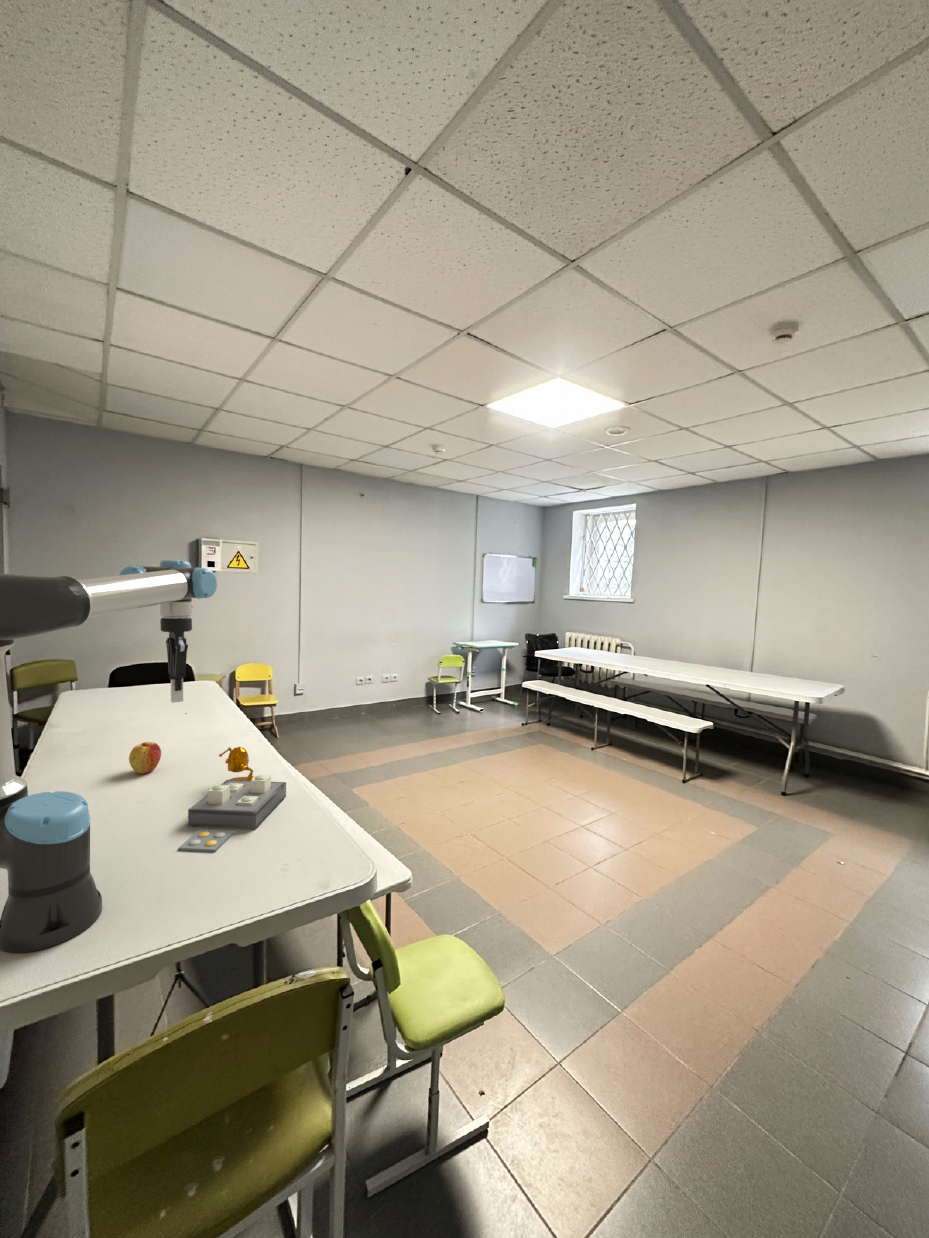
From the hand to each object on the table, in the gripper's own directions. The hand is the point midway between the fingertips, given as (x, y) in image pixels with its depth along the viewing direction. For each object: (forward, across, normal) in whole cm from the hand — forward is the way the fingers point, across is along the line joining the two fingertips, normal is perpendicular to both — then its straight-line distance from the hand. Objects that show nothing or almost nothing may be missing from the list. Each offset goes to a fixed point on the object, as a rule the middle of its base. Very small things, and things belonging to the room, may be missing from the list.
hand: (177, 701), depth 139 cm
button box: (+30, -13, -13) cm, 35 cm away
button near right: (+29, -18, -13) cm, 37 cm away
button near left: (+27, -13, -7) cm, 30 cm away
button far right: (+27, -13, -18) cm, 35 cm away
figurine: (+31, +6, -19) cm, 37 cm away
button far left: (+29, -7, -13) cm, 33 cm away
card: (+30, -25, -1) cm, 39 cm away
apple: (+31, +35, +2) cm, 47 cm away
